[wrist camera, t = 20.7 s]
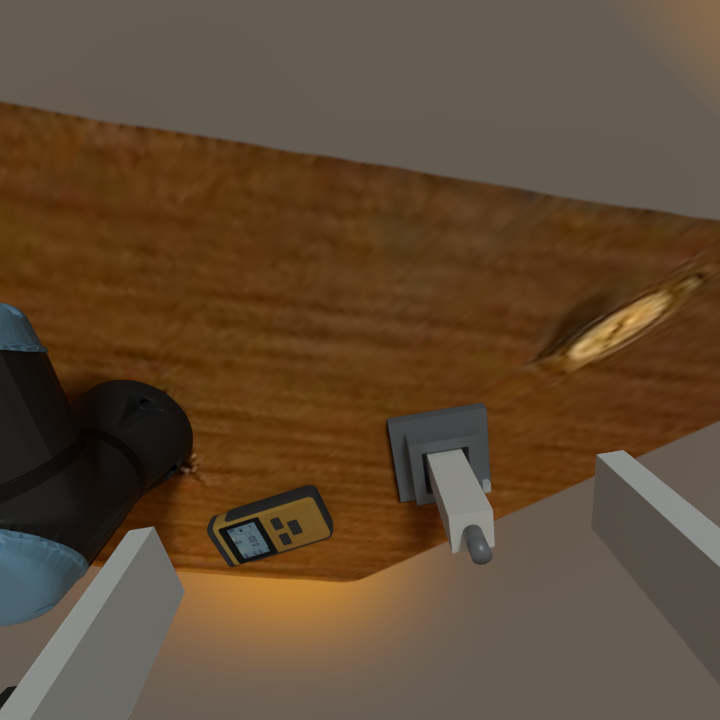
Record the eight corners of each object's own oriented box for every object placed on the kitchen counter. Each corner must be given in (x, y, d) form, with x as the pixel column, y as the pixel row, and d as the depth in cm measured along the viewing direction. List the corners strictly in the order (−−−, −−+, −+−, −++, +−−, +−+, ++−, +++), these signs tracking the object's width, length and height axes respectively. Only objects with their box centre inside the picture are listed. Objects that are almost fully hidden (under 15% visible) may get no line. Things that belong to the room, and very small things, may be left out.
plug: (427, 474, 51) (460, 579, 36) (423, 444, 49) (456, 540, 34) (459, 469, 51) (506, 572, 36) (456, 439, 49) (504, 533, 34)
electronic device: (336, 522, 56) (335, 540, 53) (238, 553, 57) (231, 573, 54) (314, 478, 53) (312, 495, 49) (211, 512, 54) (202, 530, 51)
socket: (399, 494, 54) (404, 517, 49) (386, 418, 49) (390, 436, 45) (486, 480, 53) (498, 502, 49) (482, 402, 49) (495, 419, 45)
